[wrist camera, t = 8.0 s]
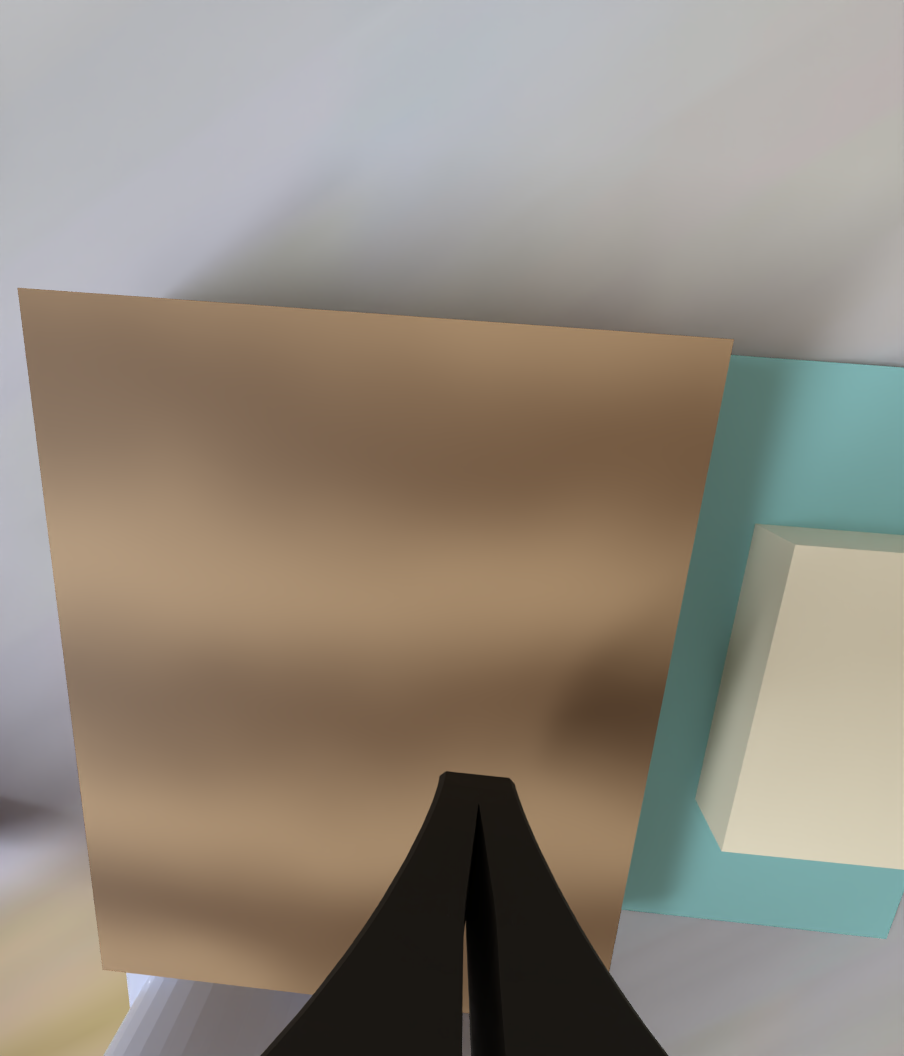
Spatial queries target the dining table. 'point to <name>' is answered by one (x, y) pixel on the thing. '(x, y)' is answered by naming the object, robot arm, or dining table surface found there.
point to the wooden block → (353, 603)
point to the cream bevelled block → (812, 702)
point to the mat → (708, 615)
